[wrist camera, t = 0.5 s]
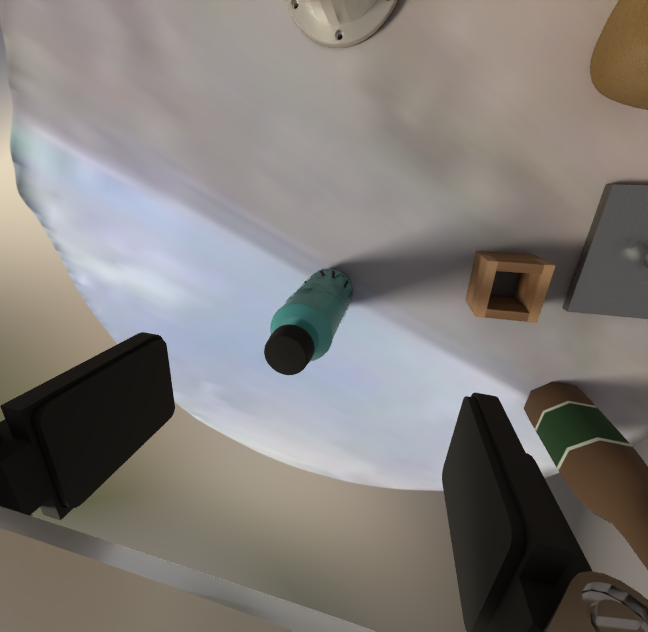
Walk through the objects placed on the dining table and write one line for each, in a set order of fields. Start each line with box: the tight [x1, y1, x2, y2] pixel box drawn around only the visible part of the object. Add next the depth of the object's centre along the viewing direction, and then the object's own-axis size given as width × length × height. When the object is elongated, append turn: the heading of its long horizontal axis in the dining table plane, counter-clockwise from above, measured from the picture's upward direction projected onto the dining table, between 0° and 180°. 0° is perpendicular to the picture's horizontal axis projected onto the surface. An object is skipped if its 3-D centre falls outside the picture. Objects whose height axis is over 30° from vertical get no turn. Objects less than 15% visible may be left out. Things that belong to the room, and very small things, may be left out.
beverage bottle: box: [264, 268, 353, 375], centre depth 34 cm, size 6×7×20 cm
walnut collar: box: [466, 251, 555, 323], centre depth 36 cm, size 6×6×6 cm
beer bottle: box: [524, 382, 648, 569], centre depth 32 cm, size 8×8×24 cm
